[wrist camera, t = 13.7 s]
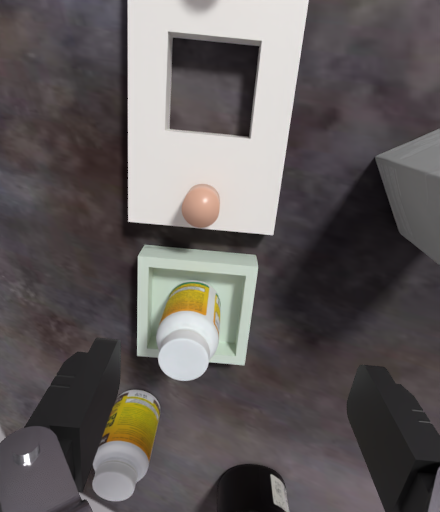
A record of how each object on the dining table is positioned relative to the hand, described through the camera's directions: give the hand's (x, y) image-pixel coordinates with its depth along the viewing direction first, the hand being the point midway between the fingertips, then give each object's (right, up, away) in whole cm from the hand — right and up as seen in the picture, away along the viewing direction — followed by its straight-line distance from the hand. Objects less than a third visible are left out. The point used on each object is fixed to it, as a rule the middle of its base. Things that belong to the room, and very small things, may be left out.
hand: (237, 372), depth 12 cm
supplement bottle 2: (-3, -1, +25) cm, 26 cm away
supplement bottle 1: (-10, -14, +32) cm, 36 cm away
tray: (-3, -1, +26) cm, 26 cm away
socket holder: (-1, +18, +19) cm, 26 cm away
